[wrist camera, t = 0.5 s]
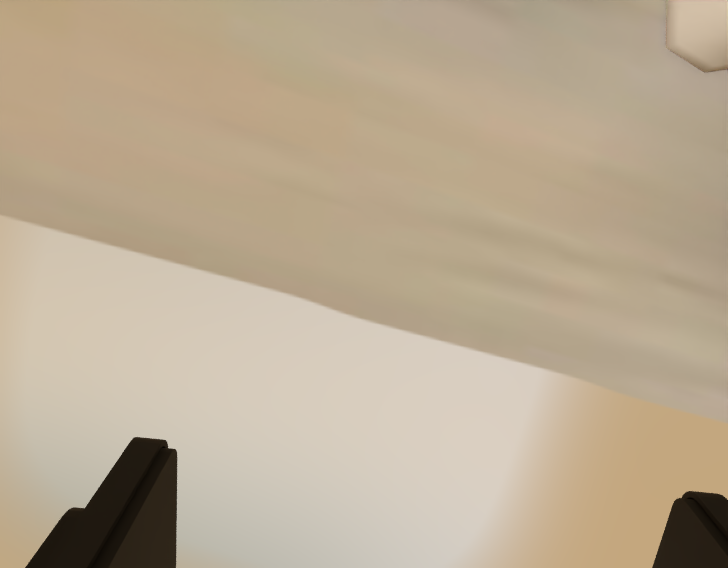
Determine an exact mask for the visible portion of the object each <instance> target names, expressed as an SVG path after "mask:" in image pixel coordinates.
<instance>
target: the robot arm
mask: <svg viewBox="0 0 728 568" xmlns="http://www.w3.org/2000/svg"><path fill="white" fill-rule="evenodd" d="M176 513H177V451H176V450H175V449H169V448H168V444H167V442H166V440H160V439H150V438H140V437H135V438H133V439H132V440H131V442H130V443H129V444H128V446H127V447H126V449H125V450H124V452H123V453H122V455H121V456H120V458H119V459H118V461H117V462H116V463H115V465H114V467H113V468H112V470H111V471H110V472H109V474H108V475H107V477H106V478H105V480H104V481H103V482H102V484H101V485H100V487H99V488H98V490H97V491H96V493H95V494H94V496H93V497H92V499H91V500H90V502H89V503H88V504H87V506H86V507H85V508H71V509H69V510H68V511H67V512H66V513H65V514H64V515H63V516H62V518H61V519H60V520H59V522H58V523H57V525H56V526H55V527H54V529H53V530H52V532H51V533H50V534H49V536H48V537H47V538H46V540H45V541H44V543H43V544H42V545H41V547H40V548H39V549H38V551H37V552H36V554H35V555H34V556H33V558H32V559H31V560H30V562H29V563H28V565H27V566H26V567H25V568H176V520H177V514H176ZM652 568H728V500H727V499H726V498H725V497H724V496H723V495H720V494H714V493H704V492H693V491H689V492H686V493H685V494H684V495H683V496H682V498H679V499H676V500H675V501H674V503H673V506H672V509H671V512H670V515H669V518H668V521H667V524H666V527H665V530H664V533H663V536H662V540H661V543H660V546H659V549H658V552H657V555H656V558H655V561H654V564H653V567H652Z"/></svg>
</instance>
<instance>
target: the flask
mask: <svg viewBox="0 0 728 568" xmlns="http://www.w3.org/2000/svg"><path fill="white" fill-rule="evenodd" d="M666 48H667V49H669V50H670V51H672V52H673V53H675V54H677V55H678V56H680V57H681V58H683V59H684V60H686V61H687V62H689V63H691V64H692V65H694V66H695V67H697V68H698V69H700V70H701V71H703V72H710V71H717V70H724V69H728V0H666Z"/></svg>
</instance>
